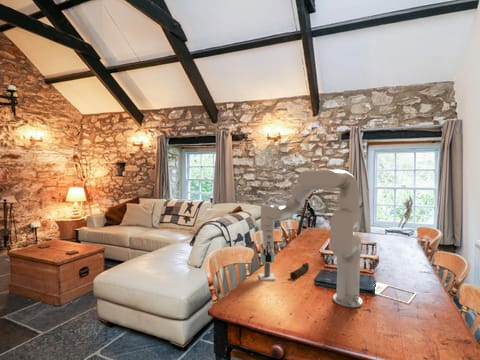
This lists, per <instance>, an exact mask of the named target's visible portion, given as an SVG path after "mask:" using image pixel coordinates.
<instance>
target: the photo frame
mask: <svg viewBox="0 0 480 360" xmlns="http://www.w3.org/2000/svg"><path fill="white" fill-rule="evenodd" d="M375 284H376V287H375V294H374V295H376V296H380V297H382V298H386V299H389V300H393V301H396V302H399V303H403V304H406V305H410V303H411V302H412V301H413V300H414V298H415V297H416V296H417V294H418V292H416V291H415V292H414V291H412V290H409V289H408V290H407V289H404V288H401V287H396V286H393V285H390V284H386V283H382V282H378V281H377V282H375ZM388 287H389V288H392V289H396V290H399V291H403V292H407V293H410V294H413V295H412V296H411V298H410V299H408V301H405V300H401V299H397V298H394V297H391V296H388V295H385V294H382V293H383V292H384V291H385V290H386V289H387V288H388Z"/></svg>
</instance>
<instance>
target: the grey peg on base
mask: <svg viewBox="0 0 480 360" xmlns="http://www.w3.org/2000/svg"><path fill="white" fill-rule="evenodd" d="M270 264H271V263H264V266H263V267H264V272H261V273H260V272H259V273H258V275H259V280H260V281H261V282H263V281H264V282H266V281H267V282H268V281H272V282H273V281H275V282H276V277H275V274H274V272H271V265H270Z"/></svg>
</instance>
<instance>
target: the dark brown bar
mask: <svg viewBox="0 0 480 360" xmlns="http://www.w3.org/2000/svg"><path fill="white" fill-rule="evenodd" d="M309 268H310V267H309V263H308V262H304V263H303V264H302V266H301V267H299V268H298V269H296V270H294V271H290V273H289V276H290V279H293V280H297V279H298V278H299V277H300V276H301V275H303V274H304V273H306V274H307V272H309V270H310V269H309Z"/></svg>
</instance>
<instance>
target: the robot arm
mask: <svg viewBox="0 0 480 360" xmlns="http://www.w3.org/2000/svg"><path fill="white" fill-rule="evenodd" d="M335 189H339V196H338V210H337V211H335V212H334V213H333V214H332V216H331V218H330V222H329V223H330V224H329V226H330V231H329V234H330V235H329V237H330V239H329V241H330V250H331V252H332V254H334V256H336V257H337V261H336V262H337V263H336V293H334V294H333V296H332V300H333V302H334V303H336V304H337V305H340V307H341V306H342V307H345V308H346V307H347V308H353V309H354V308H359V307H361V306H362V305H363V299H362V298H361V297H360V275H361V274H360V273H361V272H360V270H361V256H362V255H361V254H362V245H363V244H362V239H361V237H360V236H359V234H357V233H356V232H354V229H355V228H357V227H358V226H359V224H360V188H359V183H358V181H357V179H356V177H355V176H354V175H353V174H352V173H350V172H348V171H346V170H342V169H325V170H324V169H323V170H314V169H312V170H311V169H310V170H309V169H308V170H303V171H301V172H300V173H299V174H298V175H297V183H296V184H294V185H293V187H292V188H291V189H290V194H291V196H290V197H289V199H287V201H286V202H285V203H284V204H280V205H273V204H268V203H267V204H266V203H265V204H262V205H261V206H260V231H262V245H263V252H266V255H265V262H271V253H272V250H274V247H275V245H274V231H275V228H276V227H275V225H276V224H275V221H282V220H285V219H286V220H287V219H289V218H290V217H292V216H293V215H294V214H295V213H296V212H298V210H299V209H300V208H301V207H302V205H303V203H304V201H305V200H307V198H308V197H309V196H310V195H312V193H314V192H315V191H316V190H335Z"/></svg>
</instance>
